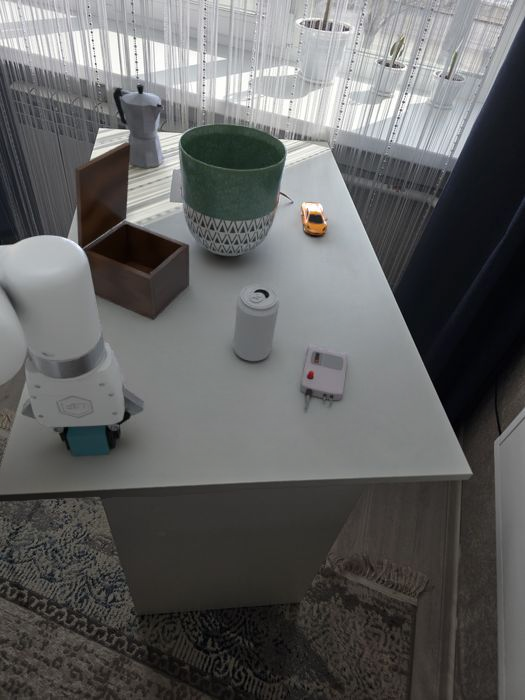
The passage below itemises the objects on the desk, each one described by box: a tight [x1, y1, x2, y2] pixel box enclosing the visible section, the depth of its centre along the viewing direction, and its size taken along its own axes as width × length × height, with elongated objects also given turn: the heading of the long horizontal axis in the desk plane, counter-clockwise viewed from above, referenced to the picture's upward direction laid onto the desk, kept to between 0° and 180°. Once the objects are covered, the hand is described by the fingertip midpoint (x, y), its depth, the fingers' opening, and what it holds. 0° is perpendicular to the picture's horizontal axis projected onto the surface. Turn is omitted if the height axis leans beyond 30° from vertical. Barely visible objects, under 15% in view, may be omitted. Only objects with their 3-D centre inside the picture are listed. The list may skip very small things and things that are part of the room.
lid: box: [74, 141, 130, 249], centre depth 76 cm, size 15×12×1 cm
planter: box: [178, 123, 288, 257], centre depth 91 cm, size 20×20×21 cm
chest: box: [82, 219, 190, 321], centre depth 83 cm, size 14×12×9 cm
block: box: [67, 425, 111, 457], centre depth 62 cm, size 5×5×5 cm
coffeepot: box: [112, 84, 165, 169], centre depth 116 cm, size 15×9×18 cm, turn 58°
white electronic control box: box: [299, 344, 348, 410], centre depth 75 cm, size 7×16×3 cm, turn 168°
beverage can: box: [232, 283, 280, 362], centre depth 74 cm, size 6×6×12 cm
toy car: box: [300, 201, 329, 237], centre depth 108 cm, size 6×12×3 cm, turn 2°
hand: (92, 439), depth 63 cm, fingers closed on block, 4 cm apart
